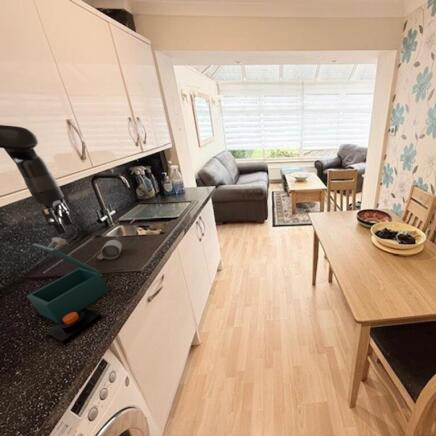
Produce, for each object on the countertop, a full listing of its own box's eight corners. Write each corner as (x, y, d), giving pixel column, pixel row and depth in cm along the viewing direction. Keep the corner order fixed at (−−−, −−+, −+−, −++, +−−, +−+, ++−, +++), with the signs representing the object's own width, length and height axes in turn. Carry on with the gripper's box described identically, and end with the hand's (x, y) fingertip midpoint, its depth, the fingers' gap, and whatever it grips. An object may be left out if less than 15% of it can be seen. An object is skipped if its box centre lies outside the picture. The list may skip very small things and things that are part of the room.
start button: (69, 325, 77) (66, 322, 76) (62, 322, 78) (60, 319, 77) (81, 317, 80) (79, 313, 79) (75, 314, 81) (72, 310, 80)
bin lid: (52, 250, 78) (65, 237, 80) (32, 244, 82) (45, 232, 85) (98, 273, 91) (108, 261, 94) (79, 267, 96) (88, 256, 99)
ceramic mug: (124, 248, 125) (118, 236, 122) (122, 256, 118) (116, 243, 115) (100, 255, 121) (93, 242, 118) (97, 263, 114) (90, 250, 111)
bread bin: (59, 324, 82) (46, 304, 78) (40, 314, 86) (26, 295, 83) (109, 291, 96) (100, 273, 92) (89, 284, 100) (80, 267, 96)
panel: (65, 344, 74) (59, 337, 72) (49, 336, 77) (43, 328, 76) (101, 317, 83) (97, 310, 82) (86, 311, 86) (81, 304, 85)
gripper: (38, 184, 87) (59, 224, 94) (20, 195, 76) (46, 239, 83) (64, 181, 90) (82, 219, 97) (50, 190, 79) (73, 233, 86)
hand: (65, 228), depth 90 cm, fingers open, 8 cm apart
